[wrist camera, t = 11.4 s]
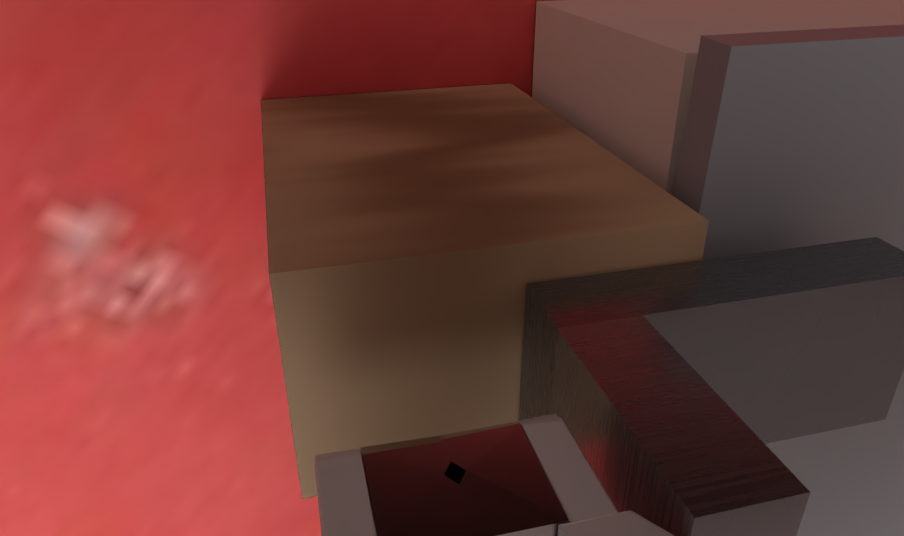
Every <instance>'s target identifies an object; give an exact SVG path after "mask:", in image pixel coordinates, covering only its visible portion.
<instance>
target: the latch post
mask: <svg viewBox="0 0 904 536" xmlns="http://www.w3.org/2000/svg"><path fill="white" fill-rule="evenodd" d="M261 114H262V135H263V156H264V177H265V198H266V219H267V240H268V261H269V277H270V283H271V290H272V297H273V304H274V310H275V317H276V324H277V331H278V337H279V344H280V351H281V358H282V365H283V371H284V378H285V385H286V392H287V398H288V405H289V412H290V419H291V425H292V432H293V439H294V446H295V452H296V459H297V466H298V473H299V480H300V486H301V493H302V499H305V498H310V497H315V496H318V494H317V485H316V475H315V466H314V464H315V455H318V454H325V453H332V452H339V451H346V450H352V449H359V451H360V447H366V446H373V445H380V444H386V443H393V442H400V441H406V440H413V439H420V438H426V437H433V436H439V435H444V434H450V433H455V432H461V431H466V430H472V429H477V428H483V427H488V426H494V425H499V424H505V423H510V422H514V423H515V422H516V421H518V420H519V412H520V392H521V372H522V352H523V332H524V312H525V292H526V284H528V283H535V282H543V281H550V280H558V279H565V278H573V277H580V276H588V275H595V274H603V273H610V272H618V271H625V270H632V269H640V268H647V267H655V266H662V265H670V264H677V263H685V262H692V261H700V260H702V257H703V251H704V246H705V240H706V235H707V229H708V224H709V221H708V220H707V219H706V218H704V217H703V216H701V215H700V214H698V213H697V212H696V211H694V210H693V209H691V208H690V207H688V206H687V205H685V204H684V203H683V202H681V201H680V200H678V199H677V198H675V197H674V196H673V195H671V194H670V193H668V192H667V191H665V190H664V189H662V188H661V187H660V186H658V185H657V184H655V183H654V182H652V181H651V180H650V179H648V178H647V177H645V176H644V175H642V174H641V173H640V172H638V171H637V170H635V169H634V168H632V167H631V166H629V165H628V164H627V163H625V162H624V161H622V160H621V159H619V158H618V157H617V156H615V155H614V154H612V153H611V152H609V151H608V150H606V149H605V148H604V147H602V146H601V145H599V144H598V143H596V142H595V141H594V140H592V139H591V138H589V137H588V136H586V135H585V134H584V133H582V132H581V131H579V130H578V129H576V128H575V127H573V126H572V125H571V124H569V123H568V122H566V121H565V120H563V119H562V118H561V117H559V116H558V115H556V114H555V113H553V112H552V111H550V110H549V109H548V108H546V107H545V106H543V105H542V104H540V103H539V102H538V101H536V100H535V99H533V98H532V97H530V96H529V95H528V94H526V93H525V92H523V91H522V90H520V89H519V88H517V87H516V86H515V85H513V84H512V83H505V84H490V85H475V86H460V87H445V88H430V89H415V90H400V91H386V92H371V93H356V94H341V95H326V96H311V97H296V98H281V99H266V100H261Z"/></svg>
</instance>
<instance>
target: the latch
mask: <svg viewBox="0 0 904 536" xmlns="http://www.w3.org/2000/svg"><path fill="white" fill-rule="evenodd" d="M903 370H904V251H902V250H900V249H899V248H897V247H895V246H893V245H891V244H889V243H887V242H885V241H884V240H882V239H880V238H878V237H872V238H864V239H857V240H849V241H842V242H834V243H827V244H819V245H812V246H804V247H797V248H789V249H782V250H774V251H767V252H760V253H752V254H745V255H737V256H730V257H722V258H715V259H707V260H700V261H692V262H685V263H677V264H670V265H662V266H655V267H647V268H640V269H632V270H625V271H618V272H610V273H603V274H595V275H588V276H580V277H573V278H565V279H558V280H550V281H543V282H535V283H528V284H526V292H525V312H524V332H523V352H522V372H521V392H520V412H519V420H523V419H529V418H534V417H539V416H544V415H550V414H556V415H558V416H559V417H561V418H562V419H563V421H564V423H565V424H566V426H567V428H568V429H569V431H570V433H571V434H572V436H573V438H574V439H575V441H576V443H577V444H578V446H579V448H580V449H581V451H582V453H583V454H584V456H585V458H586V459H587V461H588V463H589V464H590V466H591V468H592V469H593V471H594V472H595V474H596V476H597V477H598V479H599V481H600V482H601V484H602V486H603V487H604V489H605V491H606V492H607V494H608V496H609V497H610V499H611V501H612V502H613V504H614V506H615V507H616V509H617V511H618V512H624V511H630V510H631V511H633V512H635V513H637V514H638V515H640V516H642V517H643V518H645V519H647V520H649V521H650V522H652V523H654V524H656V525H657V526H659V527H661V528H662V529H664V530H666V531H668V532H669V533H671V534H673V535H675V536H797V532H798V529H799V526H800V523H801V520H802V517H803V514H804V511H805V508H806V505H807V501H808V498H809V495H810V491H809V490H808V489H807V488H806V487H805V486H804V485H803V484H802V483H801V482H800V481H799V479H798V478H797V477H796V476H795V475H794V474H793V473H792V472H791V471H790V470H789V469H788V468H787V467H786V466H785V465H784V464H783V463H782V462H781V460H780V459H779V458H778V457H777V456H776V455H775V454H774V453H773V452H772V451H771V450H770V449H769V448H768V447H767V446H766V445H765V444H767V443H772V442H777V441H782V440H787V439H792V438H797V437H801V436H806V435H811V434H816V433H821V432H826V431H831V430H836V429H841V428H846V427H851V426H856V425H861V424H866V423H871V422H875V421H880V420H885V419H886V416H887V413H888V411H889V408H890V405H891V403H892V400H893V397H894V394H895V392H896V389H897V386H898V383H899V381H900V378H901V375H902V373H903Z"/></svg>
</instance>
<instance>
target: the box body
mask: <svg viewBox="0 0 904 536" xmlns="http://www.w3.org/2000/svg"><path fill="white" fill-rule="evenodd" d="M902 24H904V0H556V1H536V21H535V42H534V63H533V84H532V98H533V99H535V100H536V101H538V102H539V103H540V104H542V105H543V106H545V107H546V108H548V109H549V110H550V111H552V112H553V113H555V114H556V115H558V116H559V117H561V118H562V119H563V120H565V121H566V122H568V123H569V124H571V125H572V126H573V127H575V128H576V129H578V130H579V131H581V132H582V133H584V134H585V135H586V136H588V137H589V138H591V139H592V140H594V141H595V142H596V143H598V144H599V145H601V146H602V147H604V148H605V149H606V150H608V151H609V152H611V153H612V154H614V155H615V156H617V157H618V158H619V159H621V160H622V161H624V162H625V163H627V164H628V165H629V166H631V167H632V168H634V169H635V170H637V171H638V172H640V173H641V174H642V175H644V176H645V177H647V178H648V179H650V180H651V181H652V182H654V183H655V184H657V185H658V186H660V187H661V188H662V189H664V190H665V191H667V192H668V193H670V194H671V195H674V189H675V183H676V177H677V171H678V166H679V160H680V154H681V148H682V143H683V137H684V131H685V125H686V119H687V114H688V108H689V102H690V96H691V91H692V85H693V79H694V73H695V67H696V62H697V56H698V50H699V44H700V39H701V36H702V35H720V34H738V33H756V32H775V31H793V30H811V29H829V28H847V27H865V26H884V25H902Z"/></svg>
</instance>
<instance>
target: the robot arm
mask: <svg viewBox="0 0 904 536" xmlns="http://www.w3.org/2000/svg"><path fill="white" fill-rule="evenodd" d="M314 466H315V475H316V485H317V494H318V504H319V514H320V523H321V533H322V536H675V535H673V534H671V533H669V532H668V531H666V530H664V529H662V528H661V527H659V526H657V525H656V524H654V523H652V522H650V521H649V520H647V519H645V518H643V517H642V516H640V515H638V514H637V513H635V512H633V511H631V510H630V511H624V512H618V511H617V509H616V507H615V506H614V504H613V502H612V501H611V499H610V497H609V496H608V494H607V492H606V491H605V489H604V487H603V486H602V484H601V482H600V481H599V479H598V477H597V476H596V474H595V472H594V471H593V469H592V468H591V466H590V464H589V463H588V461H587V459H586V458H585V456H584V454H583V453H582V451H581V449H580V448H579V446H578V444H577V443H576V441H575V439H574V438H573V436H572V434H571V433H570V431H569V429H568V428H567V426H566V424H565V423H564V421H563V419H562V418H561V417H559V416H558V415H556V414H550V415H544V416H539V417H534V418H529V419H523V420H518V421H516V422H515V423H514V422H510V423H505V424H499V425H494V426H488V427H483V428H477V429H472V430H466V431H461V432H455V433H450V434H444V435H439V436H433V437H426V438H420V439H413V440H406V441H400V442H393V443H386V444H380V445H373V446H366V447H360V451H359V449H352V450H346V451H339V452H332V453H325V454H318V455H315V464H314Z"/></svg>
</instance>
